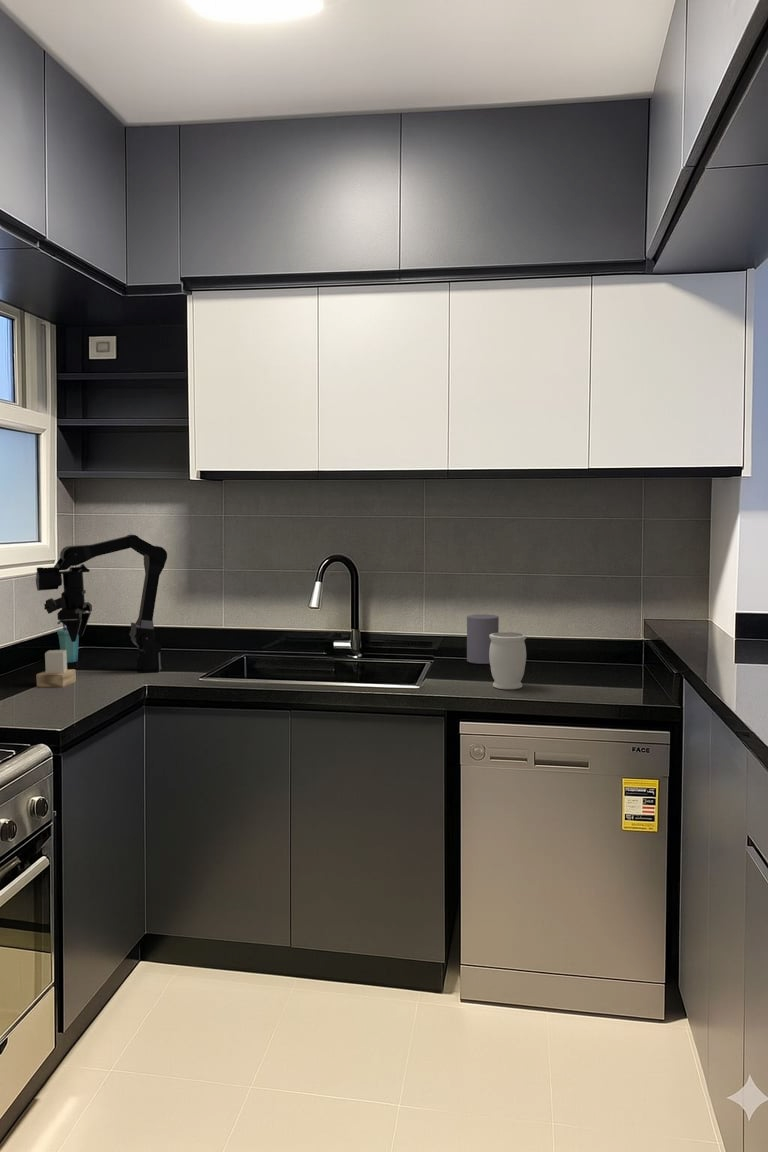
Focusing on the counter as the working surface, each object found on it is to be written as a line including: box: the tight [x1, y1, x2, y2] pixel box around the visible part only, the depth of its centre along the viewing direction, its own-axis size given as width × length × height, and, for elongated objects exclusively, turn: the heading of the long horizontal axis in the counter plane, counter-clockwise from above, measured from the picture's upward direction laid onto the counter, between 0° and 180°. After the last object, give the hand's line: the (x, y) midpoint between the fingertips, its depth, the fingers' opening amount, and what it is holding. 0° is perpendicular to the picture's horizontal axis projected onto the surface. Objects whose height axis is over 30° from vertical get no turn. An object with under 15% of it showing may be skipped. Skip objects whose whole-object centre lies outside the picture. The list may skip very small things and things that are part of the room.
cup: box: [56, 620, 80, 664], centre depth 293 cm, size 14×8×15 cm, turn 177°
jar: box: [489, 631, 527, 690], centre depth 249 cm, size 11×10×15 cm
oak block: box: [35, 668, 77, 688], centre depth 258 cm, size 8×8×4 cm
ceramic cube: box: [44, 649, 68, 674], centre depth 258 cm, size 5×5×6 cm
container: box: [466, 613, 500, 666], centre depth 288 cm, size 10×10×15 cm
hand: (77, 639), depth 265 cm, fingers open, 9 cm apart
